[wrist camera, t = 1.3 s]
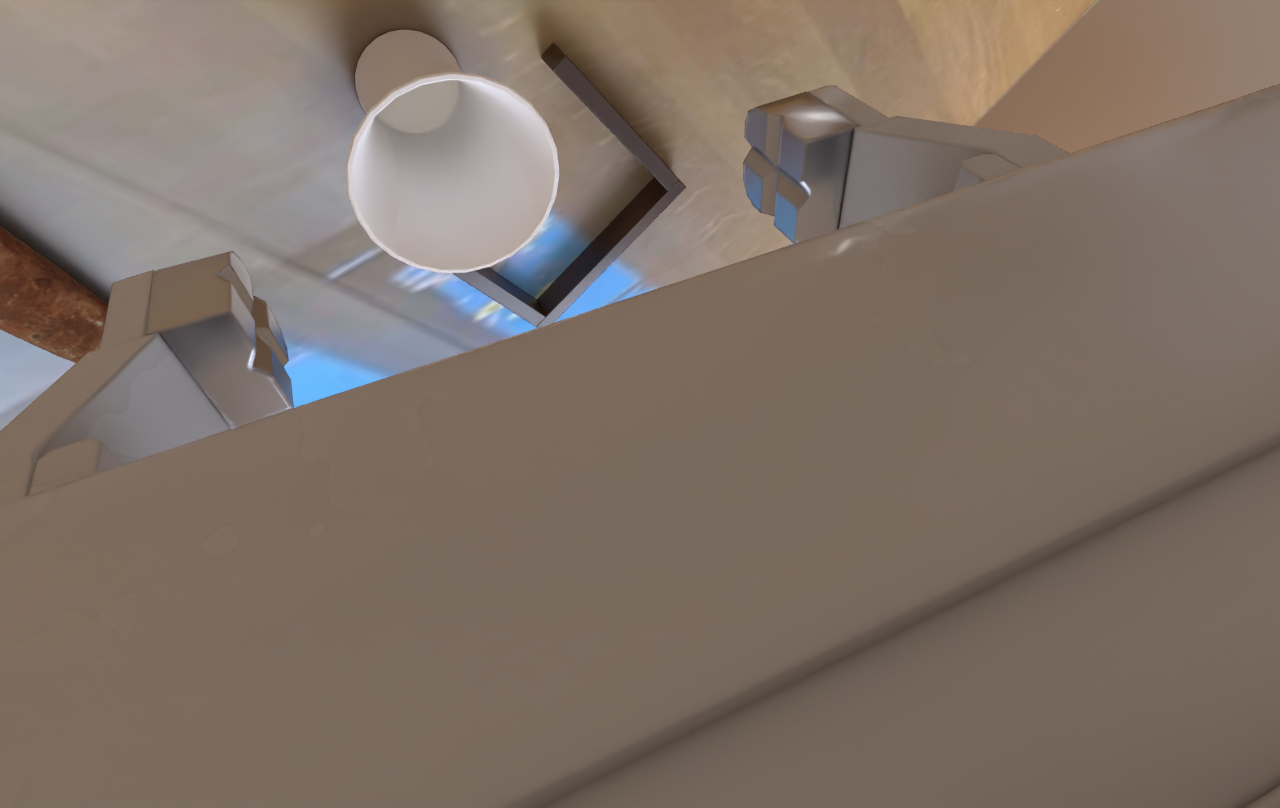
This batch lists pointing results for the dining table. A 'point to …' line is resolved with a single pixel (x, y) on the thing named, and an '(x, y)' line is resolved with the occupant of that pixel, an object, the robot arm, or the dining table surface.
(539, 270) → the dining table surface
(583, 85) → the dark brown flat frame
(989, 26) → the dining table surface
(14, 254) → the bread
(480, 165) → the cup
